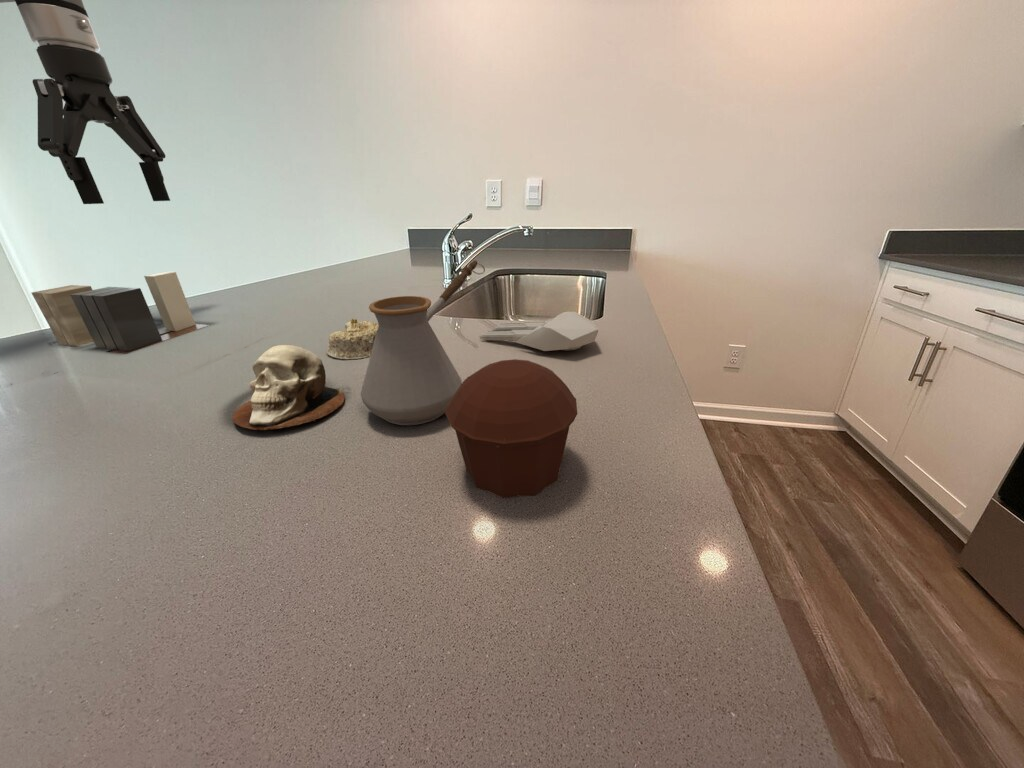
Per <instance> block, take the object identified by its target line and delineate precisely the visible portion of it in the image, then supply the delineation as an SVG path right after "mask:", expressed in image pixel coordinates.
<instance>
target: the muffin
mask: <svg viewBox="0 0 1024 768" xmlns="http://www.w3.org/2000/svg"><path fill="white" fill-rule="evenodd" d="M444 414H445V416H446V418H447V421H448V423H449V425H450V427H451V428H452V429H453V430H454V431H455V435H456V438H457V442H458V445H459V446H458V447H459V449H460V452H461V456H462V459H463V463H464V467H465V470H466V471H467V473H468V474H469V476H470V477H471V479H472V481H473V484H474V487H475V489H479V490H481V491H485V492H489V493H491V494H493V495H495V496H497V497H499V498H501V499H508V498H514V497H527V496H528V497H529V496H530V497H531V496H537V495H538V494H539V493H540V492H542V491H543V490H545V488H548V487H549V486H551V485H552V484H555V483H557V482H558V480H559V476H560V470H561V468H562V467H561V466H562V462H563V457H564V454H565V453H564V452H565V449H566V444H567V440H568V435H569V430H570V426H571V425H572V424H573V423H574V422H575V420H576V418H577V416H578V403H577V398H576V397H575V396H574V394H573V393H572V391H571V390H570V388H569V387H568V385H567V384H566V383H565V382H564V381H563V380H562V379H561V378H560V377H559V376H558V374H556V373H555V372H554V371H553V370H552V369H550V368H548V367H547V366H543V365H541V364H539V363H537V362H533V361H531V360H526V359H516V358H515V359H505V360H504V359H503V360H499V361H496V362H492V363H488V364H487V365H485V366H483V367H482V368H480V369H478V370H477V371H475V372H474V373H472V374H470V375H469V376H467V378H465V379H464V380H463V381H462V384H461V386H460V387H459V388H458V390H457V391H456V393H455V395H454V396H453V397H452V398H451V400H450V403H449V405H448V407H447V409H446V411H445V413H444Z"/></svg>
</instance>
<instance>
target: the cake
mask: <svg viewBox="0 0 1024 768" xmlns="http://www.w3.org/2000/svg"><path fill="white" fill-rule="evenodd" d="M378 326H379V323H378V322H374V321H371V320H370V321H369V320H363V321H359V320H358V319H357V318H356V319H354V318H351V319H350V321H347V322H346V323H345V324H344V328H345V330H338V331H335V332H332V333H330V334H329V335H328V346H327V347H326V348H325V353H326V354H327V355H329V357H332V358H336V359H341V360H356V359H358V360H359V359H365V358H370V356H371V352H372V349H373V345H374V341H375V337H376V333H377V329H378Z"/></svg>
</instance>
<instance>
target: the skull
mask: <svg viewBox="0 0 1024 768" xmlns="http://www.w3.org/2000/svg"><path fill="white" fill-rule="evenodd" d="M252 371H253V373H254V375H255V380H251V381H250V383H249V388H250V390H251V391H253V394H252V396H251V398H250V400H249V401H247V402H245V403H243V404H242V405H240V406H239V407H238V408H236V410H235V411H234V412H233V414H232V417H231V419H232V422H233V423H234V424H235V425H237V426H239V427H241V428H245V429H248V430H255V431H258V430H259V431H269V430H277V429H279V430H280V429H283V428H290V427H296V426H297V427H298V426H300V425H302V424H303V425H305V424H306V423H310V422H313V423H316V422H317V420H318V419H323V418H324V417H328V416H329V415H330V414H331V413H333V412H335V411H336V410H337V409H339V408H340V407H341V406H342V405H343V404H344V402H345V398H346V395H345V394H344V393H343V391H341V390H340V389H336V388H332V387H328V386H326V384H327V383H326V379H327V378H326V376H327V375H326V369H325V366H324V363H323V360H322V359H321V358H320V357H319V356H317V355H316V354H314V353H313V352H312V351H310V350H308V349H305V348H304V347H300V346H297V345H291V344H290V345H289V344H278V345H275V346H272V347H270V348H268V349H266V351H264V352H263V353H262V354H261V355H260V356H259V357H258V358H257V360H255V362H254V363H253V365H252Z"/></svg>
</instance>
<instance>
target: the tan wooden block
mask: <svg viewBox="0 0 1024 768" xmlns="http://www.w3.org/2000/svg"><path fill="white" fill-rule="evenodd" d="M90 290H93V288H92V286H91V285H78V284H76V285H75V284H70V285H65V286H59V287H54V288H53V287H52V288H48V289H42V290H38V291H32V292H31V296H32V297H33V299H34V301H35V303H36V304H37V306H38V308H39V310H40V313H42V316H43V317H44V319H45V321H46V323H47V324H48V327H49V329H50V330H51V332H52V334H53V336H54V337H55V339H56V341H57V343H58V345H60V346H61V345H62V346H71V347H72V346H73V347H81V346H83V345H87V344H90V343H94V341H93V339H92V337H91V335H90V333H89V331H88V329H87V327H86V325H85V323H84V321H83V319H82V317H81V315H80V313H79V311H78V309H77V307H76V305H75V303H74V301H73V299H72V297H71V294H75V293H80V292H85V291H90Z"/></svg>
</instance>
